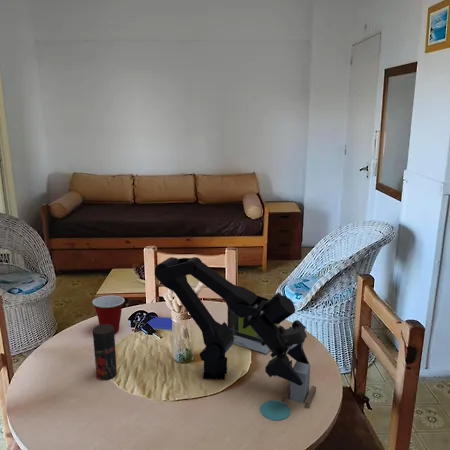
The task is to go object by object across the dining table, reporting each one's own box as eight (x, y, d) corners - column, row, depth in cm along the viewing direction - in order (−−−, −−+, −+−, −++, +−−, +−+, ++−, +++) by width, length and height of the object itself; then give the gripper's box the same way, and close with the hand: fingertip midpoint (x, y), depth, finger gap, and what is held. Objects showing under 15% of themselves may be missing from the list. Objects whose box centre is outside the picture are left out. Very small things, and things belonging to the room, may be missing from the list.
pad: (260, 420, 118) (260, 419, 118) (259, 400, 125) (259, 399, 125) (292, 420, 117) (292, 420, 117) (288, 400, 125) (288, 400, 125)
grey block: (289, 399, 126) (291, 370, 123) (294, 389, 130) (296, 361, 128) (304, 403, 124) (305, 374, 122) (308, 392, 129) (310, 364, 126)
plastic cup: (131, 325, 166) (129, 295, 162) (117, 340, 155) (115, 308, 152) (103, 322, 168) (101, 291, 165) (88, 336, 158) (86, 304, 154)
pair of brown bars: (282, 400, 125) (282, 396, 125) (290, 384, 132) (290, 380, 132) (308, 408, 122) (309, 403, 122) (315, 391, 129) (316, 386, 129)
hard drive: (138, 326, 163) (172, 328, 162) (144, 315, 171) (177, 317, 170) (138, 330, 164) (172, 332, 162) (144, 319, 171) (177, 321, 170)
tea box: (279, 341, 156) (281, 301, 152) (265, 355, 147) (267, 313, 143) (241, 329, 163) (242, 291, 159) (226, 342, 155) (226, 301, 151)
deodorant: (120, 374, 137) (118, 328, 133) (103, 383, 132) (100, 336, 128) (109, 366, 140) (106, 322, 136) (92, 374, 136) (88, 329, 132)
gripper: (278, 332, 114) (320, 381, 113) (298, 302, 131) (334, 345, 129) (248, 353, 119) (287, 400, 118) (271, 322, 136) (305, 363, 135)
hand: (305, 376), depth 125 cm, fingers open, 8 cm apart
